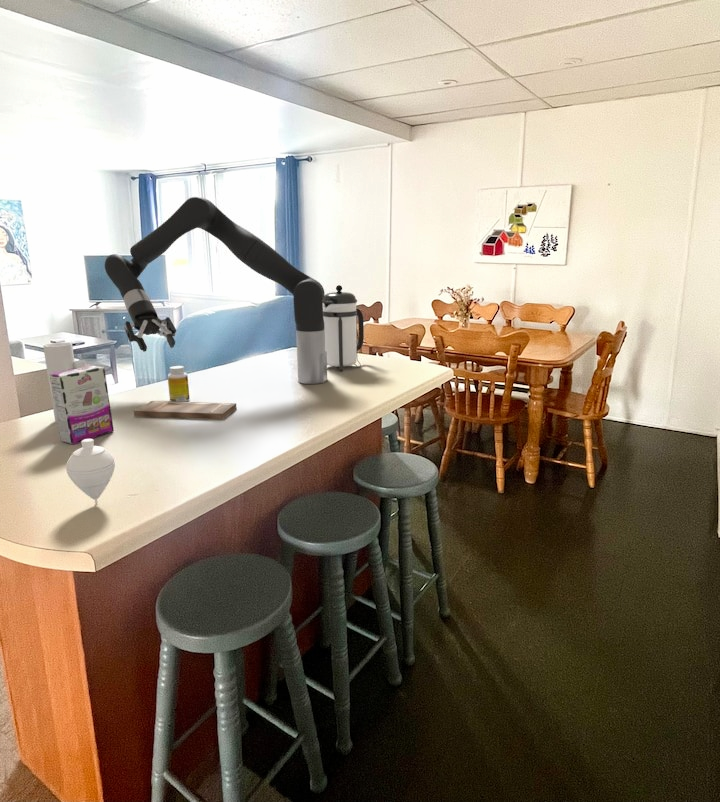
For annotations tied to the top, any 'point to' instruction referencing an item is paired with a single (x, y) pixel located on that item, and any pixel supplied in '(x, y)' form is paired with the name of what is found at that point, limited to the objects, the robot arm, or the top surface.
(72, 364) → the vase
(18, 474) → the top surface
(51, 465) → the top surface
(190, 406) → the walnut board
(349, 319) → the coffee press
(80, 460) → the spinning top
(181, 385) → the supplement bottle
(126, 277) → the robot arm
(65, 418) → the candy bar box
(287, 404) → the top surface
